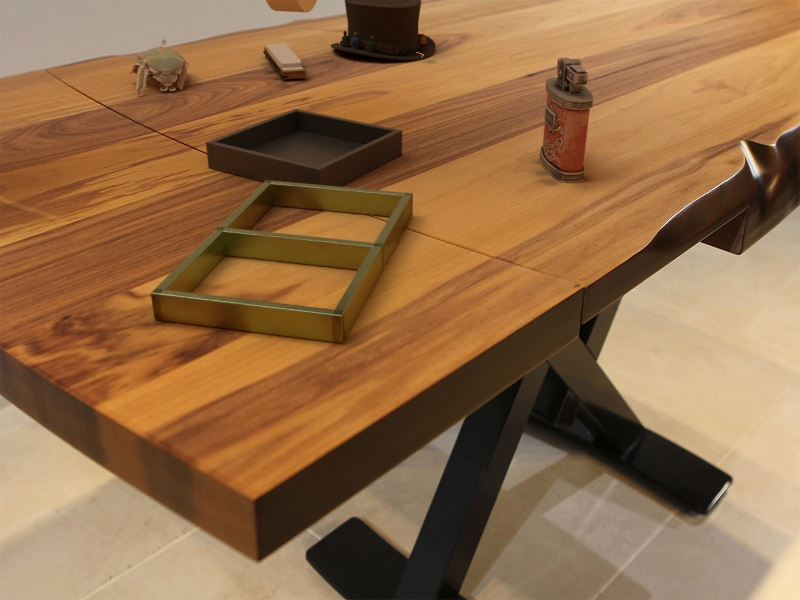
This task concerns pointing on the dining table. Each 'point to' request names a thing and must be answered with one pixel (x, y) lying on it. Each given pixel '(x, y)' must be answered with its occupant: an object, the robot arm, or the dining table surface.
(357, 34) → the top hat
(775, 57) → the dining table surface
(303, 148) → the tray
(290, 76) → the harmonica
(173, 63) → the crab toy
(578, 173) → the lighter
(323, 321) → the rack
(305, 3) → the tape
